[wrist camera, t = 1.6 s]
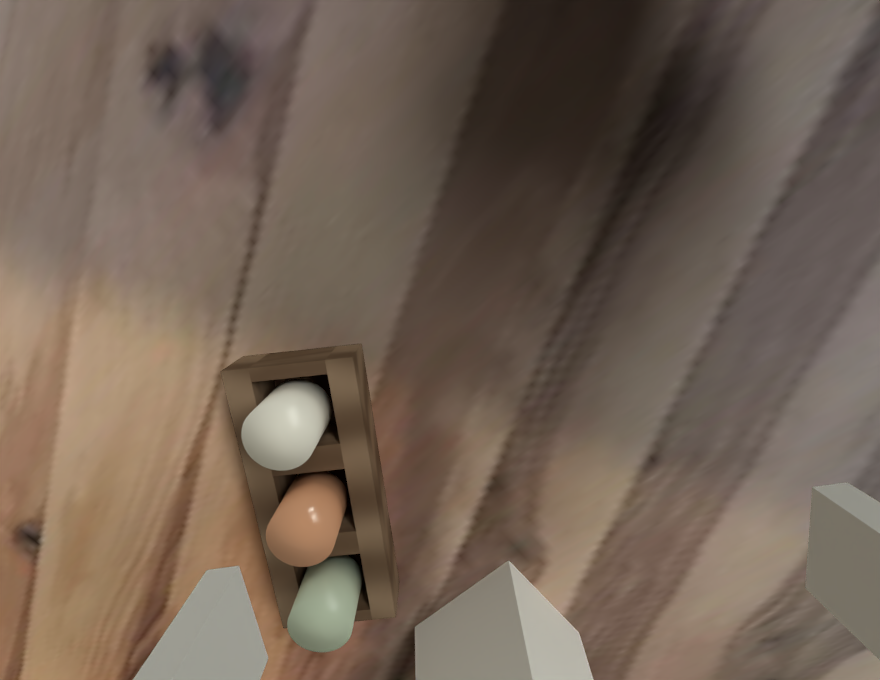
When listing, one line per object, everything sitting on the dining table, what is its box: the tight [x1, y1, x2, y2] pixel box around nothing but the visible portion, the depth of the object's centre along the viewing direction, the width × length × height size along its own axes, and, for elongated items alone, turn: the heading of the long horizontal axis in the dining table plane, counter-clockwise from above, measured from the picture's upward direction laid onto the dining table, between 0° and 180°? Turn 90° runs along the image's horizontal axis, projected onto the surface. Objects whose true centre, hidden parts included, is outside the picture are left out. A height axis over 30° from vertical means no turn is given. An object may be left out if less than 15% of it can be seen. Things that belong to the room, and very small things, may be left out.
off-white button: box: [241, 379, 332, 471], centre depth 32 cm, size 5×5×5 cm
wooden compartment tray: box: [220, 344, 399, 628], centre depth 37 cm, size 24×10×4 cm, turn 6°
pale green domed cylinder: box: [287, 555, 363, 652], centre depth 36 cm, size 5×5×5 cm
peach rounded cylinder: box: [266, 471, 348, 567], centre depth 34 cm, size 5×5×5 cm
